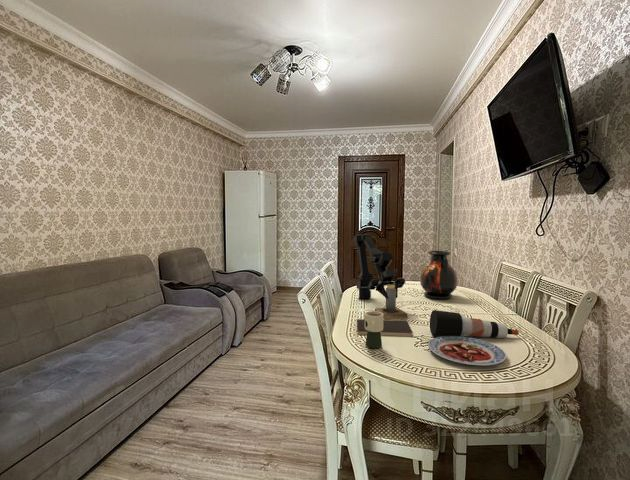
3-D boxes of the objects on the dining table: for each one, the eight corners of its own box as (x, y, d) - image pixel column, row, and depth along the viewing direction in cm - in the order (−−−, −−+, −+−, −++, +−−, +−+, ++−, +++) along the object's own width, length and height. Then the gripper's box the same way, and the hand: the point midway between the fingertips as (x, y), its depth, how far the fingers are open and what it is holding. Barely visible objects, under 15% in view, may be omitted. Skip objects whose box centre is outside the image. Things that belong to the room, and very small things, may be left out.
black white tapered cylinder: (517, 350, 135) (527, 333, 130) (432, 340, 138) (438, 322, 132) (508, 331, 144) (517, 314, 139) (428, 322, 146) (433, 304, 141)
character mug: (365, 340, 135) (365, 308, 134) (383, 341, 133) (383, 310, 132) (363, 351, 124) (363, 317, 123) (382, 352, 123) (383, 318, 122)
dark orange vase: (414, 293, 213) (414, 250, 211) (446, 292, 216) (447, 249, 214) (429, 302, 192) (430, 254, 190) (464, 301, 194) (465, 253, 192)
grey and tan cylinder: (383, 310, 168) (384, 285, 167) (388, 308, 172) (388, 283, 171) (393, 312, 165) (393, 286, 164) (397, 309, 169) (397, 284, 168)
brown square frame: (374, 312, 173) (374, 308, 173) (395, 310, 176) (395, 306, 176) (384, 319, 162) (385, 315, 161) (407, 317, 165) (407, 313, 164)
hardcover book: (412, 337, 139) (412, 332, 139) (357, 335, 142) (357, 330, 142) (406, 325, 155) (406, 320, 155) (356, 323, 158) (356, 318, 157)
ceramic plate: (468, 377, 105) (468, 368, 105) (413, 347, 128) (413, 339, 128) (523, 362, 115) (523, 353, 115) (463, 337, 139) (463, 330, 138)
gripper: (370, 264, 168) (379, 290, 159) (404, 262, 173) (415, 288, 163) (364, 276, 177) (372, 302, 167) (396, 274, 181) (406, 299, 171)
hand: (392, 298), depth 167 cm, fingers closed on grey and tan cylinder, 5 cm apart
